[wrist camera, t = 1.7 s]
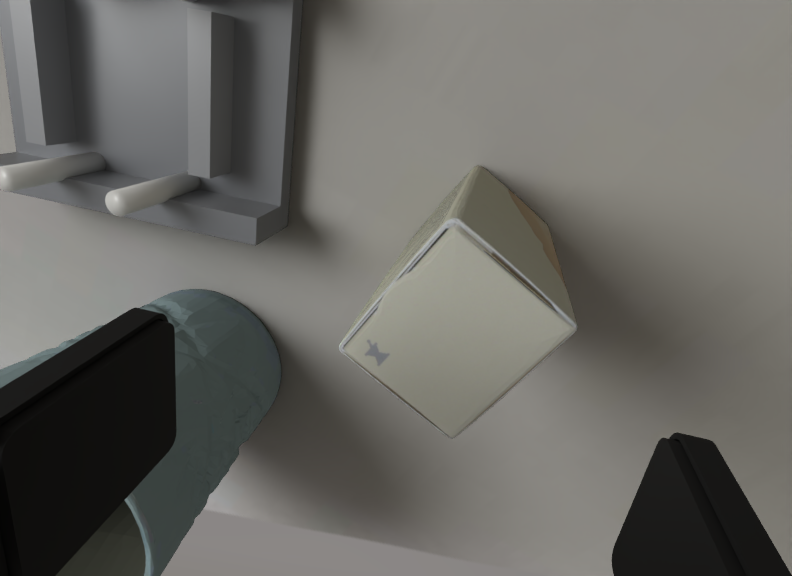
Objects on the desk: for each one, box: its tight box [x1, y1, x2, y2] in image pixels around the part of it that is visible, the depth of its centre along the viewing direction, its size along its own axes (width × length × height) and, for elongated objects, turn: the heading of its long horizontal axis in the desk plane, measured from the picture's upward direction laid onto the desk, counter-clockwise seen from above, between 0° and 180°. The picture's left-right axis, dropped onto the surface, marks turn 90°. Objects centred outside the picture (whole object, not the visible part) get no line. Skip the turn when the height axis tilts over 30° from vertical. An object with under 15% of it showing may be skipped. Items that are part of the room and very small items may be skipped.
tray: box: [0, 0, 303, 245], centre depth 22 cm, size 14×11×6 cm
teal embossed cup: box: [0, 289, 281, 576], centre depth 24 cm, size 10×10×12 cm
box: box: [339, 165, 578, 438], centre depth 19 cm, size 5×4×11 cm
